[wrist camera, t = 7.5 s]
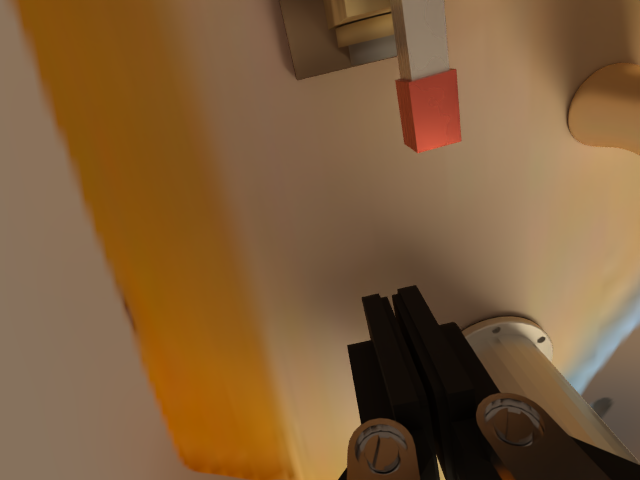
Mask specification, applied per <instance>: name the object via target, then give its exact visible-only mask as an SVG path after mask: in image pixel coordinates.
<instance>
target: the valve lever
mask: <svg viewBox="0 0 640 480" xmlns="http://www.w3.org/2000/svg"><path fill="white" fill-rule="evenodd" d="M390 5H391V12H392V20H393V27H394V34H395V41H396V49H397V56H398V63H399V70H400V78H401V79H398V80H395V82H396V89H397V96H398V103H399V110H400V117H401V124H402V130H403V137H404V144H405V145H407V146H408V147H410V148H411V149H413V150H414V151H415V152H417V153H420V152H424V151H427V150H431V149H434V148H438V147H442V146H445V145H449V144H452V143H456V142H460V141H461V130H460V115H459V101H458V87H457V73H456V69H449V58H448V46H447V33H446V20H445V7H444V0H390Z"/></svg>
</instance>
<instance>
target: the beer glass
mask: <svg viewBox="0 0 640 480" xmlns="http://www.w3.org/2000/svg"><path fill="white" fill-rule="evenodd" d="M568 126H569V129H570V132H571V134H572V136H573V137H574V138H575V139H576V140H577V141H579V142H580V143H582V144H584V145H588V146H593V147H613V148H620V149H625V150H628V151H631V152H633V153H635V154H638V155H640V65H636V64H632V63H615V64H611V65H608V66H605V67H603V68H601V69H599V70H598V71H596V72H595V73H593V74H592V75H591V76H590V77H588V78H587V79H586V80H585V81H584V83H583V84H582V85H581V86H580V88H579V89H578V90H577V92H576V94H575V95H574V97H573V100H572V102H571V105H570V108H569V113H568Z"/></svg>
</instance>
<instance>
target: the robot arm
mask: <svg viewBox="0 0 640 480" xmlns="http://www.w3.org/2000/svg"><path fill="white" fill-rule="evenodd" d="M392 300H393V305H394V311H395V315H394V313H393V310H392V308H391V305H390V303H389V300H388V298H387V297H382V298H381V297H380V295H379V293H378V294H374V295H370V296H365V297H362V302H363V306H364V311H365V316H366V320H367V325H368V329H369V334H370V338H371V340H369V341H365V342H360V343H356V344H351V345H347V346H348V353H349V358H350V364H351V370H352V375H353V381H354V386H355V392H356V398H357V403H358V409H359V414H360V420H361V425H360V426H359V427H358V428H357V429H356V430H355V431H354V433H353V434H352V436H351V438H350V440H349V445H348V455H347V468H346V470H345V471H344V472H343V474H342V475H341V476H340V478H339V479H338V480H440V477H439V470H438V463H437V458H438V460H439V463H440V466H441V468H442V471H443V474H444V477H445V479H446V480H640V462H639V461H638V460H637V459H636V458H635V457H634V456H633V455H632V453H631V452H630V451H629V450H628V449H627V448H626V447H625V446H624V444H623V443H622V442H621V441H620V440H619V439H618V437H617V436H616V435H615V434H614V433H613V432H612V431H611V430H610V429H609V427H608V426H607V425H606V424H605V423H604V422H603V421H602V419H601V418H600V417H599V416H598V415H597V414H596V413H595V412H594V410H593V409H592V408H591V407H590V406H589V405H588V404H587V403H586V401H585V400H584V399H583V398H582V397H581V396H580V395H579V393H578V392H577V391H576V390H575V389H574V388H573V387H572V386H571V384H570V383H569V382H568V381H567V380H566V379H565V378H564V377H563V375H562V374H561V373H560V372H559V371H558V370H557V369H556V367H555V366H554V365H553V364H552V363H551V361H552V357H553V346H552V342H551V340H550V338H549V337H548V335H547V334H546V333H545V332H544V331H543V330H542V328H541V327H540V326H539V325H537V324H535V323H534V322H532V321H530V320H527V319H524V318H520V317H513V316H508V317H497V318H492V319H487V320H484V321H482V322H479V323H476V324H474V325H472V326H470V327H468V328H466V329H465V330H463V331H462V332H461V330H460V329H459V327H458V326H457V324H456V323H454V322H451V323H447V324H442V325H438V323H437V321H436V320H435V318H434V316H433V314H432V313H431V311H430V309H429V307H428V306H427V304H426V302H425V300H424V298H423V297H422V295H421V293H420V291H419V290H418V288H417V286H416V285H414V286H409V287H405V288H401V289H398V294H396V295H392ZM395 317H396V318H395ZM436 455H437V457H436Z"/></svg>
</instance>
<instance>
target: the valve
mask: <svg viewBox="0 0 640 480" xmlns="http://www.w3.org/2000/svg"><path fill="white" fill-rule="evenodd" d="M279 2H280V7H281V11H282V16H283V20H284V25H285V29H286V34H287V38H288V43H289V47H290V52H291V56H292V60H293V65H294V69H295V74H296V78H297V80H301V79H305V78H309V77H313V76H317V75H321V74H326V73H330V72H334V71H338V70H342V69H346V68H350V67H355V66H359V65H363V64H367V63H371V62H375V61H380V60H384V59H388V58H392V57H396V56H397V49H396V41H395V34H394V27H393V20H392V12H391V5H390V0H279Z"/></svg>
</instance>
